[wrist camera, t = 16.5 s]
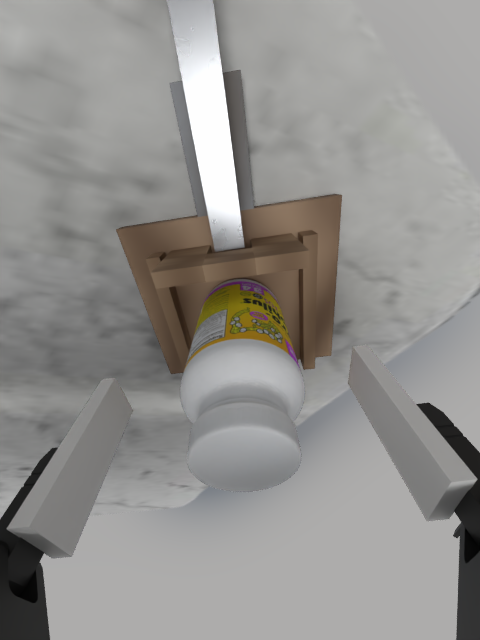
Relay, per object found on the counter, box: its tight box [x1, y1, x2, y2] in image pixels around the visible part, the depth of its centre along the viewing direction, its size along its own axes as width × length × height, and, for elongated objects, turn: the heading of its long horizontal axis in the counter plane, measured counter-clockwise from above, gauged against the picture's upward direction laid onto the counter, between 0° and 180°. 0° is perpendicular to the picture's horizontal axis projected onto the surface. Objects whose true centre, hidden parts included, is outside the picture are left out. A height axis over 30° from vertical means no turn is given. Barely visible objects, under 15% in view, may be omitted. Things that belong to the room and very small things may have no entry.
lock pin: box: [167, 0, 245, 252], centre depth 10 cm, size 3×16×7 cm, turn 8°
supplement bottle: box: [180, 279, 305, 492], centre depth 15 cm, size 7×7×13 cm
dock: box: [116, 70, 342, 374], centre depth 17 cm, size 16×21×6 cm
